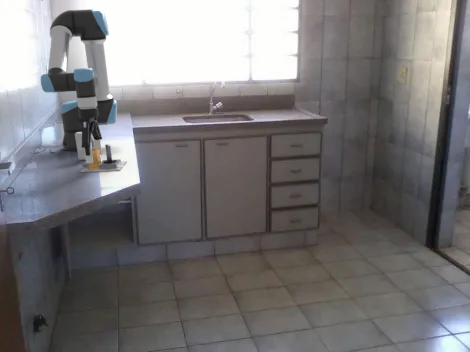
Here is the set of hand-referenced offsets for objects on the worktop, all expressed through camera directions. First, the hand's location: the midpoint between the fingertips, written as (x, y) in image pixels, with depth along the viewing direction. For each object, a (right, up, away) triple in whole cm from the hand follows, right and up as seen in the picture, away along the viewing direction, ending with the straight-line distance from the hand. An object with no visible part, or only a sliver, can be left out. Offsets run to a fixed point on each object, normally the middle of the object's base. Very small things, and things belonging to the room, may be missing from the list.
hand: (94, 159), depth 203 cm
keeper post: (+4, -3, +1) cm, 5 cm away
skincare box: (-9, 0, +17) cm, 20 cm away
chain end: (+3, -3, +1) cm, 4 cm away
